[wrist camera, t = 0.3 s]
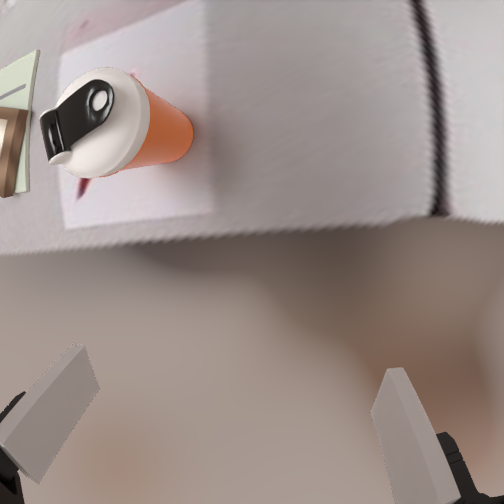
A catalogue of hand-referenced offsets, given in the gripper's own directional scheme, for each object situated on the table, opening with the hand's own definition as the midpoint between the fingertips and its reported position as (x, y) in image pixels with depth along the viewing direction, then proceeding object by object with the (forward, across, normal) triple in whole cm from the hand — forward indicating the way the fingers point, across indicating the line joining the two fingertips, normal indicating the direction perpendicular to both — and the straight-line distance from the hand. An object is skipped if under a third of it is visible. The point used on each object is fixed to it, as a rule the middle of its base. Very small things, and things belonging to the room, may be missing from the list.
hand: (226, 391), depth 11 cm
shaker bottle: (+28, -12, +12) cm, 33 cm away
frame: (+26, -51, +17) cm, 59 cm away
